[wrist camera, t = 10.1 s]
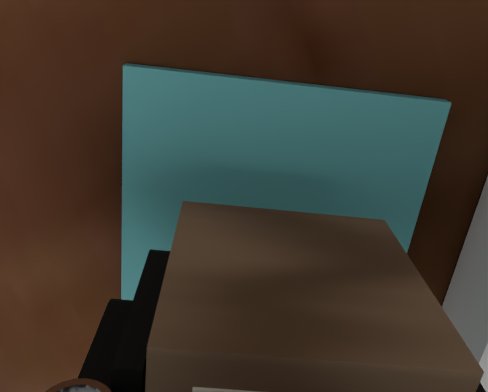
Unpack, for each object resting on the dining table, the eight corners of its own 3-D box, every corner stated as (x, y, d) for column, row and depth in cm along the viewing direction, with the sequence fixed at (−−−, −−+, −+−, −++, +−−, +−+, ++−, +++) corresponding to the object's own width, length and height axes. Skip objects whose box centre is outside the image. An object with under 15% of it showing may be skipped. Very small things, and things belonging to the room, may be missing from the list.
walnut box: (384, 219, 11) (485, 374, 7) (344, 371, 13) (401, 570, 9) (183, 200, 11) (146, 349, 7) (172, 359, 13) (138, 558, 9)
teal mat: (444, 99, 15) (451, 102, 14) (373, 345, 19) (377, 354, 18) (126, 63, 14) (122, 65, 14) (123, 324, 18) (121, 333, 18)
